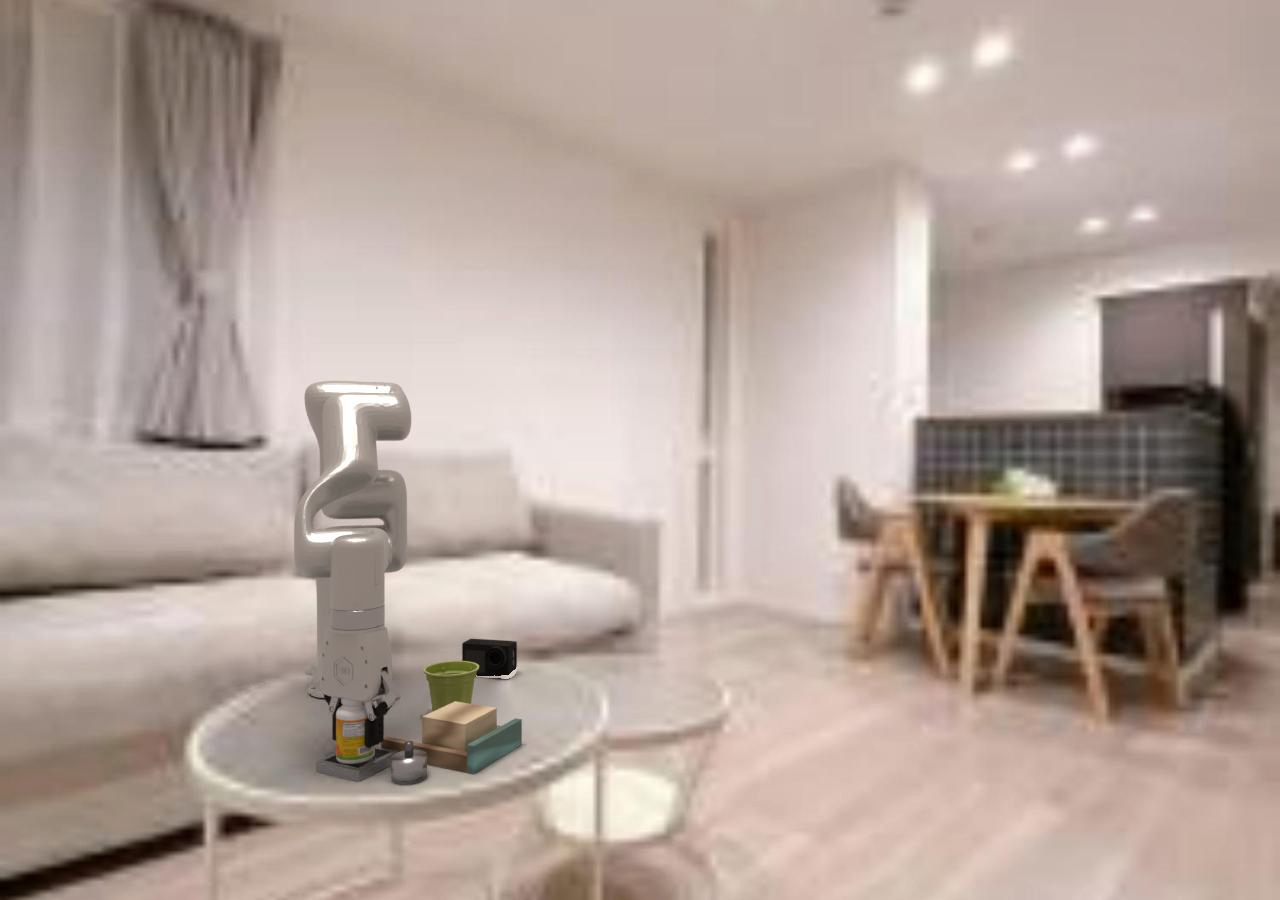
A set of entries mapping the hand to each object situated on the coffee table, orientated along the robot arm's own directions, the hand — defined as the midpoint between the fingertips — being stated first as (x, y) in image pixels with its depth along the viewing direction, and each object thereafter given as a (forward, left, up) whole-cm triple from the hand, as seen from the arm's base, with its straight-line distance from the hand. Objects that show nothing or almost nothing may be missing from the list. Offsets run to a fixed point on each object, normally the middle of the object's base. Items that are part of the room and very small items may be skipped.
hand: (358, 739), depth 117 cm
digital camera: (-10, +46, -4) cm, 47 cm away
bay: (+8, +11, -4) cm, 14 cm away
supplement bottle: (0, 0, -3) cm, 3 cm away
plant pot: (-1, +23, -4) cm, 23 cm away
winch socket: (+4, 0, -4) cm, 6 cm away
